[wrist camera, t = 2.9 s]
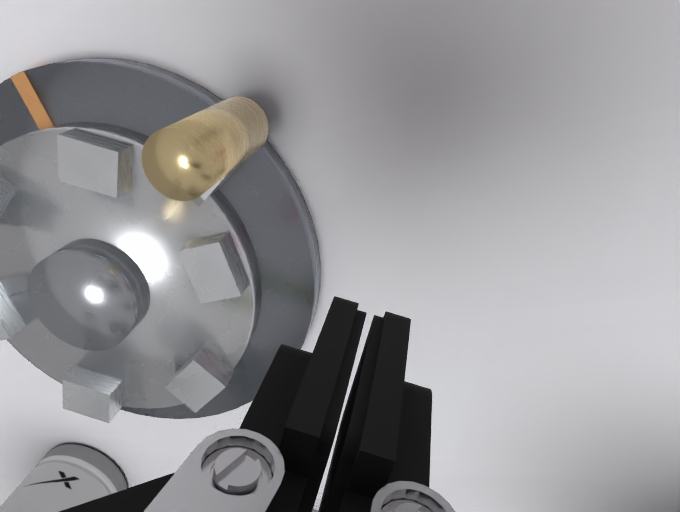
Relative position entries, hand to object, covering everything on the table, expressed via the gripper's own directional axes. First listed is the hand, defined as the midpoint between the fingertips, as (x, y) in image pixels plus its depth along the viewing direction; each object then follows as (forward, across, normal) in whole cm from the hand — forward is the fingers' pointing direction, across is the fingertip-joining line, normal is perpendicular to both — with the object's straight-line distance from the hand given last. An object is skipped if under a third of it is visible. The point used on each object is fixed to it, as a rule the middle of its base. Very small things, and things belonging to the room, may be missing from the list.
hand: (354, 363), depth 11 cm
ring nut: (+13, +11, +6) cm, 18 cm away
